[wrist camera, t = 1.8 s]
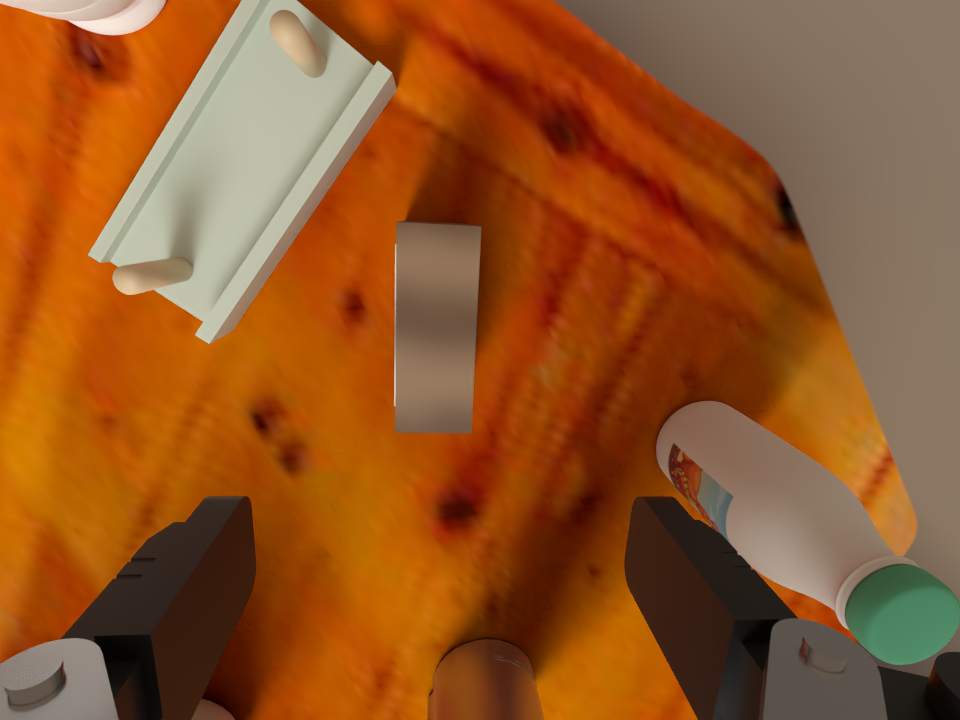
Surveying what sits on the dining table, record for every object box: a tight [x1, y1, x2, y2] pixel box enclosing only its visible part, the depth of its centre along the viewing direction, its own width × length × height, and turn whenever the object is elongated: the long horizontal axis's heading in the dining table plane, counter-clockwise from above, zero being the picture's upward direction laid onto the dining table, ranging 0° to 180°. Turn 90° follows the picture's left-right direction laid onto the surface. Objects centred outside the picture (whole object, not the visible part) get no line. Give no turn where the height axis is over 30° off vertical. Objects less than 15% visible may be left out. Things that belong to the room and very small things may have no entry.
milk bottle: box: [656, 401, 960, 665], centre depth 33 cm, size 8×8×20 cm
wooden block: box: [394, 221, 481, 433], centre depth 33 cm, size 12×5×9 cm, turn 177°
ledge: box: [88, 0, 397, 344], centre depth 30 cm, size 20×9×8 cm, turn 142°
